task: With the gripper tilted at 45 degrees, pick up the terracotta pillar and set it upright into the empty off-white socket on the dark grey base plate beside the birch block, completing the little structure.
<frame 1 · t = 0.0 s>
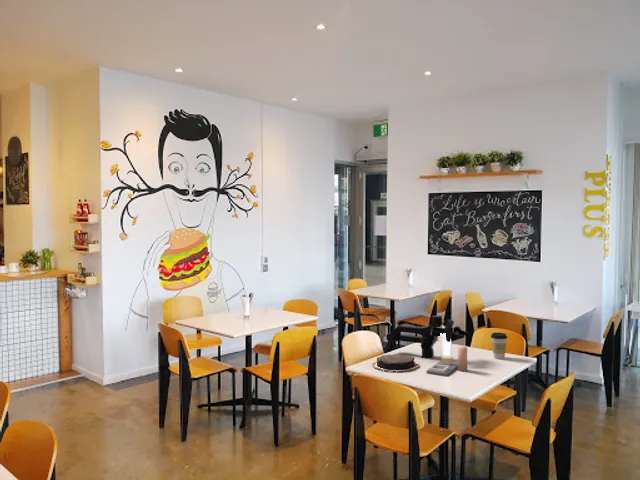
hand: (466, 335, 318), 17 cm above the table, tool horizontal, fingers open, 9 cm apart
coffee cup: (499, 358, 326), on the table
pillar: (462, 370, 303), on the table
base plate: (443, 369, 305), on the table
chocolate cake: (395, 366, 315), on the table
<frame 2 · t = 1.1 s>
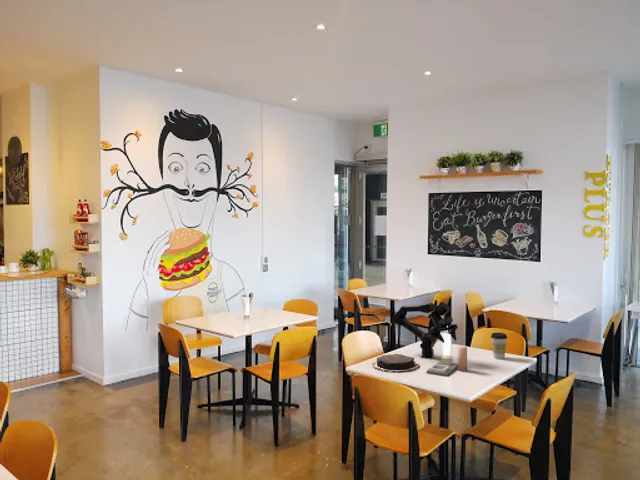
hand: (450, 341, 316), 14 cm above the table, tool tilted 45°, fingers open, 9 cm apart
nothing on the table moved.
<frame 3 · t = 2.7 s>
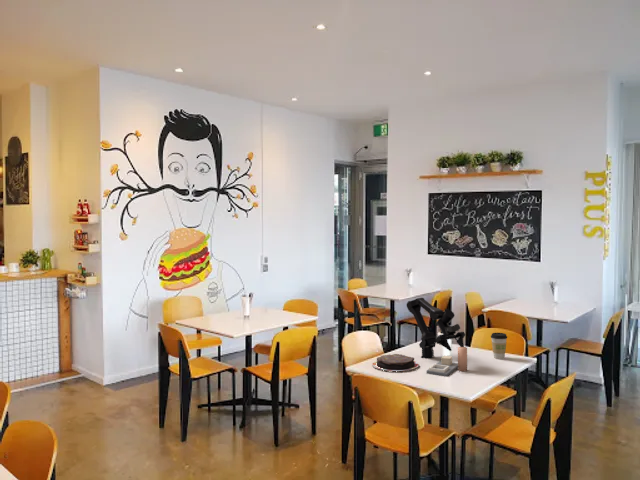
hand: (457, 349, 306), 11 cm above the table, tool tilted 45°, fingers open, 9 cm apart
nothing on the table moved.
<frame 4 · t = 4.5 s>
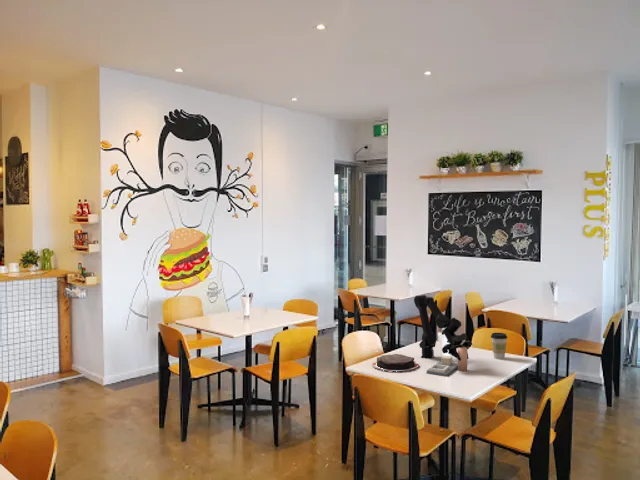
hand: (464, 359, 301), 7 cm above the table, tool tilted 45°, fingers closed on pillar, 5 cm apart
pillar: (462, 370, 303), on the table, touching gripper
everything else where it was.
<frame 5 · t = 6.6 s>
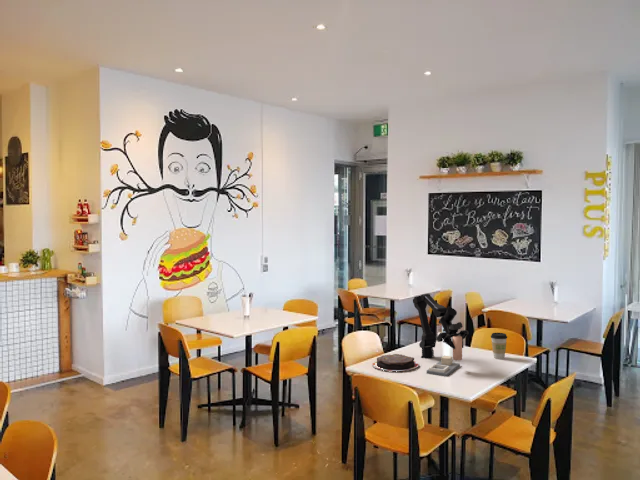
hand: (458, 348, 300), 13 cm above the table, tool tilted 45°, fingers closed on pillar, 5 cm apart
pillar: (457, 359, 301), point 7 cm above the table, touching gripper
everything else where it was.
when the fingers open (9 cm above the table, at t = 8.8 s): pillar stays where it is, resting on base plate.
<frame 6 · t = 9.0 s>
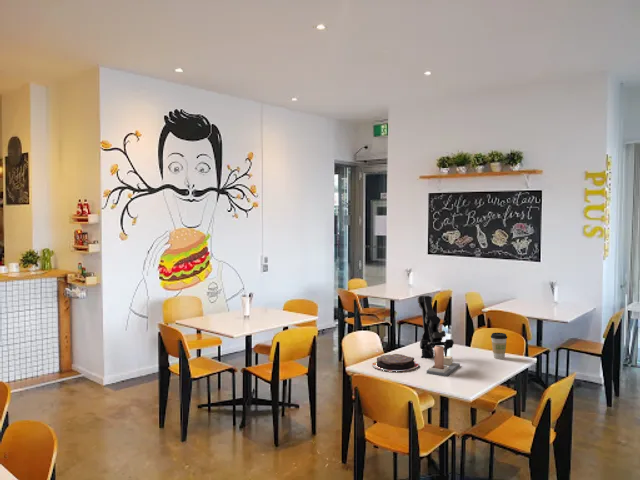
hand: (439, 357, 298), 9 cm above the table, tool tilted 45°, fingers open, 7 cm apart
pillar: (439, 369, 300), point 2 cm above the table, touching base plate
everything else where it was.
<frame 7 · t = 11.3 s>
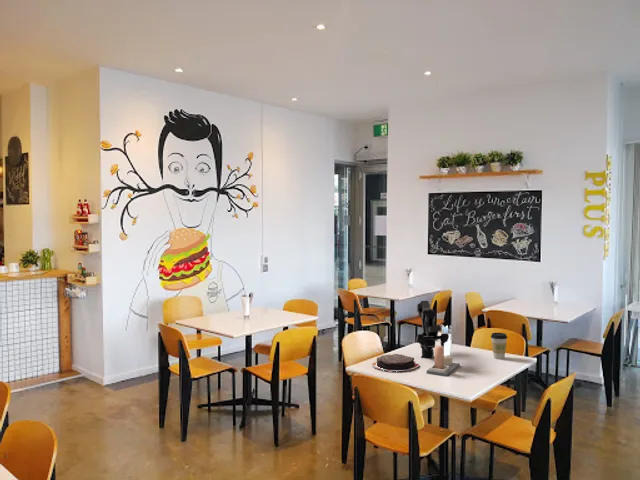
hand: (435, 350, 307), 11 cm above the table, tool tilted 45°, fingers open, 9 cm apart
nothing on the table moved.
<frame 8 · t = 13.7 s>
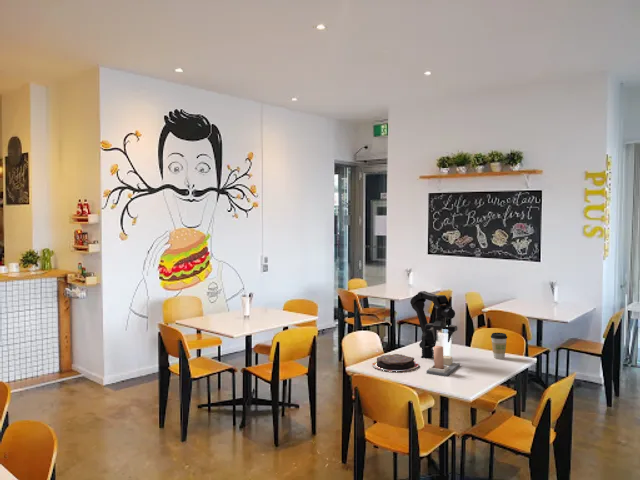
hand: (441, 341, 319), 13 cm above the table, tool pointing down, fingers open, 9 cm apart
nothing on the table moved.
at the end: pillar 0.1 cm from the target spot on the base plate, point 1.6 cm above the base plate's base; pillar tilted 2°; the gripper is holding nothing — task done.
